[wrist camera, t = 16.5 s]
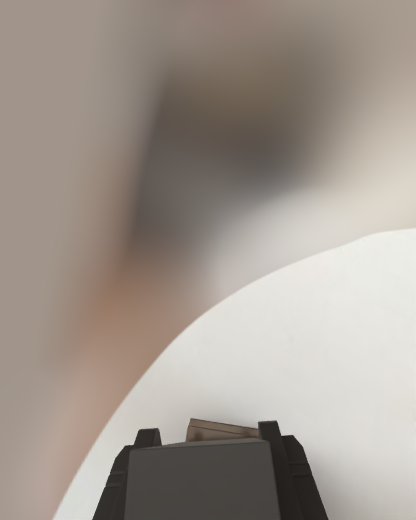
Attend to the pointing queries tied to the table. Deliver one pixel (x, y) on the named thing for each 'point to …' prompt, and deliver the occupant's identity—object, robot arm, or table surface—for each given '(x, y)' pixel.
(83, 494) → the table surface
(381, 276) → the table surface
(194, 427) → the stand
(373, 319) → the table surface
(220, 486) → the black block
